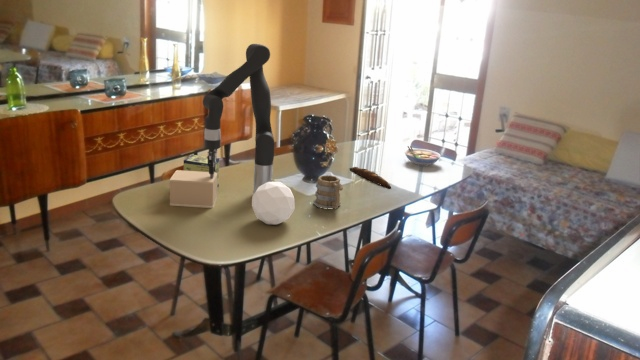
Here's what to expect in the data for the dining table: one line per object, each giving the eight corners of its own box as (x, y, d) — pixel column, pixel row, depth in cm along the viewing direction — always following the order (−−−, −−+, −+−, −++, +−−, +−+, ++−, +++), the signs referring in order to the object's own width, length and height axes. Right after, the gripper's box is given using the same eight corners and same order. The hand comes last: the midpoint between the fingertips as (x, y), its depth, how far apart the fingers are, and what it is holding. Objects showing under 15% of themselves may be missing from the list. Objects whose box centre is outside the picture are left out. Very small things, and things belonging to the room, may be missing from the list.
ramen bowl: (442, 171, 346) (444, 159, 343) (405, 169, 346) (407, 156, 343) (435, 160, 370) (437, 148, 367) (401, 157, 369) (402, 145, 367)
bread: (394, 189, 310) (395, 180, 308) (387, 190, 307) (388, 181, 306) (352, 169, 339) (353, 161, 337) (346, 170, 336) (346, 162, 335)
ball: (269, 240, 251) (251, 215, 236) (257, 210, 264) (239, 184, 250) (306, 221, 251) (291, 194, 237) (292, 191, 265) (277, 165, 250)
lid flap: (217, 174, 274) (217, 157, 271) (212, 184, 260) (213, 166, 257) (176, 171, 273) (176, 154, 270) (169, 181, 259) (169, 163, 256)
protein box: (211, 193, 282) (212, 163, 277) (183, 188, 285) (182, 159, 280) (219, 186, 292) (219, 158, 287) (191, 182, 295) (191, 154, 290)
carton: (217, 197, 277) (217, 174, 273) (212, 207, 264) (212, 184, 260) (176, 194, 276) (176, 171, 272) (170, 205, 263) (169, 181, 259)
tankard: (310, 201, 282) (312, 173, 277) (333, 199, 287) (335, 171, 282) (326, 216, 264) (328, 186, 260) (350, 214, 269) (352, 184, 265)
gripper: (218, 142, 254) (217, 177, 259) (222, 134, 267) (222, 168, 273) (201, 141, 253) (201, 176, 259) (207, 133, 267) (206, 167, 272)
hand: (212, 172), depth 266 cm, fingers closed on lid flap, 4 cm apart
